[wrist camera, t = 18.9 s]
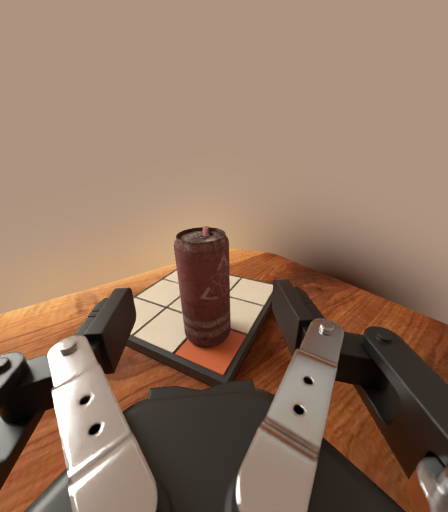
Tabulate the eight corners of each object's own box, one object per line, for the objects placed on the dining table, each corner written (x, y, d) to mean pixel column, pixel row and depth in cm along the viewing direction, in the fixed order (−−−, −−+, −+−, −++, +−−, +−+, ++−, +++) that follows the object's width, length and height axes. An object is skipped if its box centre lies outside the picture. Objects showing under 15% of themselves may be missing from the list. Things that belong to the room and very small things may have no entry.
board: (95, 331, 34) (92, 322, 33) (184, 270, 52) (183, 263, 51) (226, 393, 24) (225, 382, 24) (279, 292, 42) (280, 284, 41)
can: (228, 315, 34) (225, 223, 28) (232, 347, 28) (230, 240, 22) (187, 317, 33) (176, 226, 28) (183, 351, 28) (169, 244, 22)
